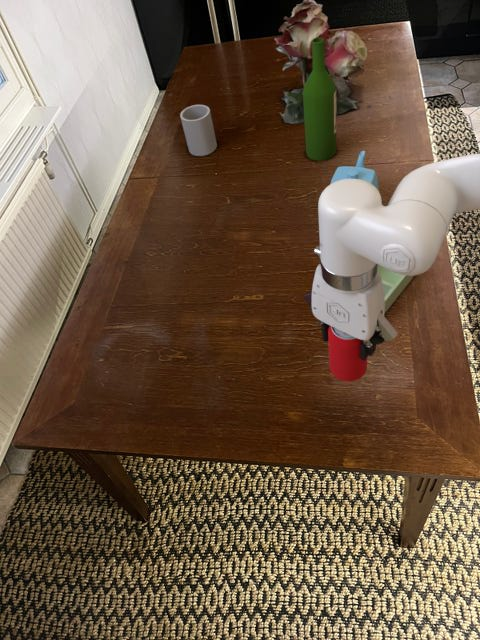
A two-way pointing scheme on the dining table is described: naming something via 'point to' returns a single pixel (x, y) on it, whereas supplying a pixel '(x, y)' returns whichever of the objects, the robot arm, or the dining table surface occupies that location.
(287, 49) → the rose bouquet
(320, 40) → the wine bottle
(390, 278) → the can holder
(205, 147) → the cup
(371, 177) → the teapot
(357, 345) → the beverage can
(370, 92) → the dining table surface
